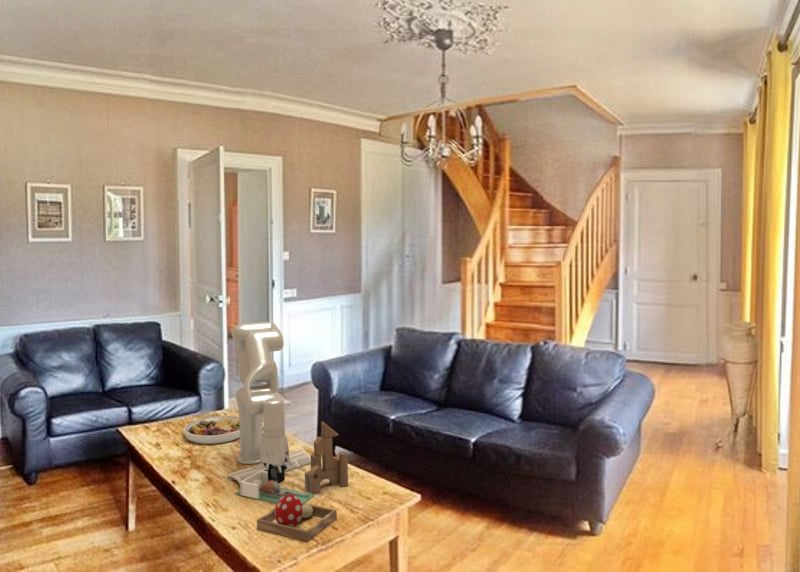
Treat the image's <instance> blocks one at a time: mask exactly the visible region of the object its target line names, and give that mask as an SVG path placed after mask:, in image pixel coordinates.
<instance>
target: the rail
mask: <svg viewBox="0 0 800 572" xmlns="http://www.w3.org/2000/svg"><path fill="white" fill-rule="evenodd" d="M280 490H283V489H280ZM285 491H287V494H293V495H295V496H300V497H304V498H311V495H307V494H302V493H297V492H293V491H288V490H285ZM261 495H262V496H267V497H271V498H276V499H281V498H282V497H283V496H278V495H274V494H269V493H263V492H262V493H261ZM311 499H312V498H311ZM300 501H301V500H300ZM301 502H302V503H303V501H301Z"/></svg>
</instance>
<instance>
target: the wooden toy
mask: <svg viewBox="0 0 800 572" xmlns="http://www.w3.org/2000/svg"><path fill="white" fill-rule="evenodd" d="M320 425H321V426H320V428H321V429H320V430H321V436H317V437H316V438H315V440H314V441H313V453H314V454H313V453H312V454H310V456H311V464H310V469H309V471H305V472H304V489H305V490H306V491H307V492H309V494H313V495H316V494H319V493H321V482H322V481H324V480H328V481H329V484H330V485H332V486H336V485H339V486H340V487H347V486H349V463H348V462H349V461H348V452H347V451H340V452H338V457H335V456H334V455H333V437H338V436H339V433H338V432H336V431H335V430H334V429H332V428H331V427H330V426H329V425H328V424H327V423H325V422H324V421H321V422H320Z"/></svg>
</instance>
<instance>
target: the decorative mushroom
mask: <svg viewBox="0 0 800 572" xmlns="http://www.w3.org/2000/svg"><path fill="white" fill-rule="evenodd" d="M308 504H309V503H306V504H305V505H302V504H301V501H300V499H299V498H298V497H297V496H295V495H293V494H287V495H284V496H283V497H282V498H281V499H280V500H279V501H278V503H275V518H276V519H275V521H276V523H278V524H282V525H286V526H290V527H294V528H297V526H298V525H299V523H300V522H301V520H302V519H308V518H311V517H312V514H313V508H312V507H311V506H310V505H308Z"/></svg>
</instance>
